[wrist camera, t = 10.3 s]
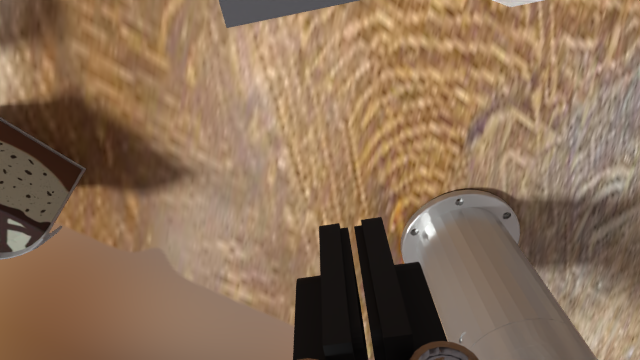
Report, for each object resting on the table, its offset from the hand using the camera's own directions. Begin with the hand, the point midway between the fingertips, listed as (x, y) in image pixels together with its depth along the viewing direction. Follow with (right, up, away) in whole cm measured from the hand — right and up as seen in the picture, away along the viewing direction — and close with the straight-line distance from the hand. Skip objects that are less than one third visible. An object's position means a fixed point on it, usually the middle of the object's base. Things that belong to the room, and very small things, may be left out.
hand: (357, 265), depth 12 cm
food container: (-29, +4, +29) cm, 41 cm away
